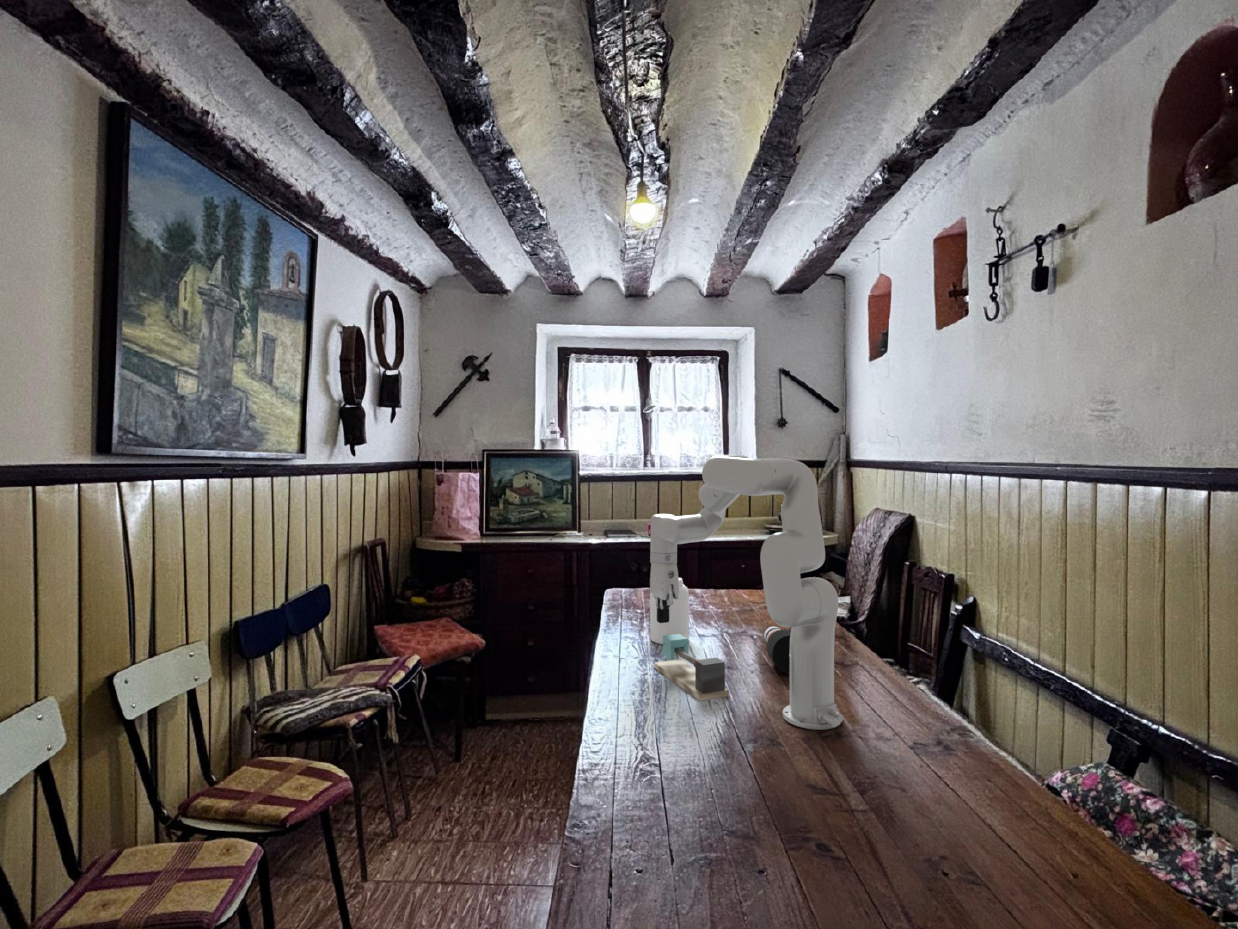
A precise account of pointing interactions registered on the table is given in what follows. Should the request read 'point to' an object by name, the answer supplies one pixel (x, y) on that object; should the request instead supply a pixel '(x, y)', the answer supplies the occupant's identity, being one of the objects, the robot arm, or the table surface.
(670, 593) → the robot arm
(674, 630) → the white jar
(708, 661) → the wooden slide rail
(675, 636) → the sleeve
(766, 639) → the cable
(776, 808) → the table surface
